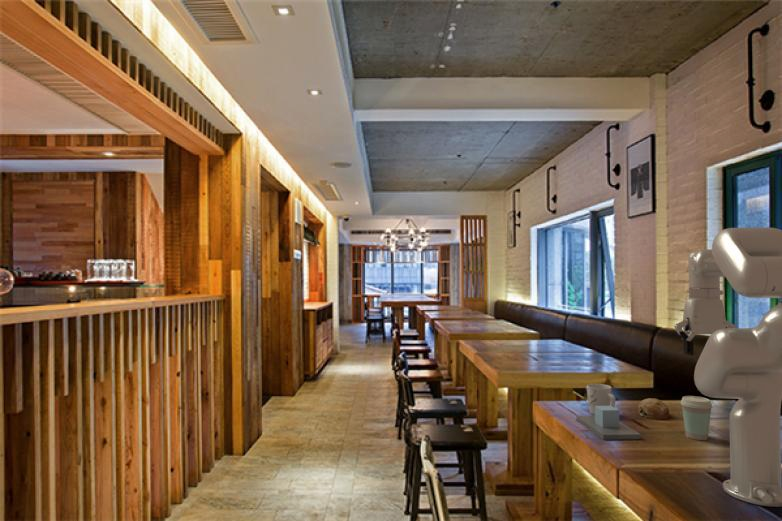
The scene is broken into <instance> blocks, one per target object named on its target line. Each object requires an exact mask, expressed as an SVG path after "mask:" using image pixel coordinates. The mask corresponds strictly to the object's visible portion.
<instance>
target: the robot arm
mask: <svg viewBox="0 0 782 521" xmlns="http://www.w3.org/2000/svg"><path fill="white" fill-rule="evenodd" d="M711 244H712V245H711V249H709V248H708V249H700V250H698V251H691V252H690V253H689V254H688V298H687V299H685V303H684V306H683V315H682V316H683V318H682V320H681V321H679V322H678V323H676V324H674V325H673V327H674V329H675V332H676V333H677V335H678V336H679V338H681V340H682V341H683V353H684V354H685V355H688V356H693V355H694V350H695V348H694V341H693V339H694V337H695V336H696V335H710V336H709V337H708V338H707V341H706V343H705V345H704V347H703V349H702V352H701V353H700V356H699V358H698V360H697V362H696V365H695V367H694V374H693V380H694V381H693V382H694V385H695V386H696V388H697V390H698V391H699V393H701V395H704V396H706V397H709V398H714V399H731V400H732V399H736V400H737V399H738V400H737V401H736V402H735V404H734V406H733V407H732V409H731V410H730V413H729V462H730V466H729V467H730V478H729V479H727V480H726V479H725V480H724V481H723V483H722V489H723V491H724V492H725V493H727V494H728V495H729V496H731V497H733V498H735V499H737V500H739V501H743V502H746V503H748V504H749V503H750V504H753V505H757V506H763V507H771V508H772V507H773V508H775V507H776V508H778V507H782V458H781V456H782V455H781V453H782V452H781V408H782V407H781V406H782V302H780V303H778V304H776V305H774V306H773V307H772V308H770V309H769V310H767V312H765V313H764V315H763V316H762V318H761V320H760V322H759V323H758V324H757V325H756V326H755V327H746V328H745V327H737V325H736V324H734V323H732V322H730V321H728V320H727V318H726V311H725V305H724V302H723V299H721V296H723V295H724V291H723V290H721V278H726V280H727V281H728V283H729V285H730V287H732V289H733V290H734V291H735V292H736V294H738V295H740V296H742V297H745V298H755V299H767V298H768V299H782V229H779V228H776V227H769V226H767V227H765V226H764V227H763V226H762V227H761V226H759V227H755V226H754V227H728V228H725V229H724V228H723V229H722V230H721V231H719V232H718V233H717V234H716V235H715V236H714V238H713V240H712V243H711Z"/></svg>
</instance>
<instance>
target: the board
mask: <svg viewBox="0 0 782 521" xmlns="http://www.w3.org/2000/svg"><path fill="white" fill-rule="evenodd" d="M576 421H577V423H579V424H580V425H581V426H583V427H585V428H586V429H588V430H589V431H590V432H591V433H593V434H594V435H596V436H598V437H599V438H600V439H601V440H603V441H608V440H609V441H613V440H615V441H616V440H617V441H618V440H642V434H641V433H640V432H638V431H636V430H634V429H633V428H632V427H629V426H628V425H626V424H624V423H623V422H621V421H620V420H619V427H604V428H603V427H601V426H600V425H598V424H597V423H595V415H581V416H579V415H578V416H577V415H576Z"/></svg>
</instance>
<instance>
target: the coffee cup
mask: <svg viewBox="0 0 782 521" xmlns="http://www.w3.org/2000/svg"><path fill="white" fill-rule="evenodd" d="M711 401H712V400H710V399H709V398H706V397H702V396H695V395H685V396H682V398H681V400H680V405H681V410H682V417H683V423H684V429H685V436H686V437H687V438H688V437H689V439H691V438H692V440H696V441H708V439H709V431H710V424H711V423H710V422H711V415H712V408H713V404H712V402H711Z"/></svg>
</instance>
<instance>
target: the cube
mask: <svg viewBox="0 0 782 521" xmlns="http://www.w3.org/2000/svg"><path fill="white" fill-rule="evenodd" d="M594 416H595V423H597V424H598V425H600V426H601V427H603V428H604V427H619V421H620V410H619V409H618V408H616V407H615V408H614V407H612V406H595V415H594Z"/></svg>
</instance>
